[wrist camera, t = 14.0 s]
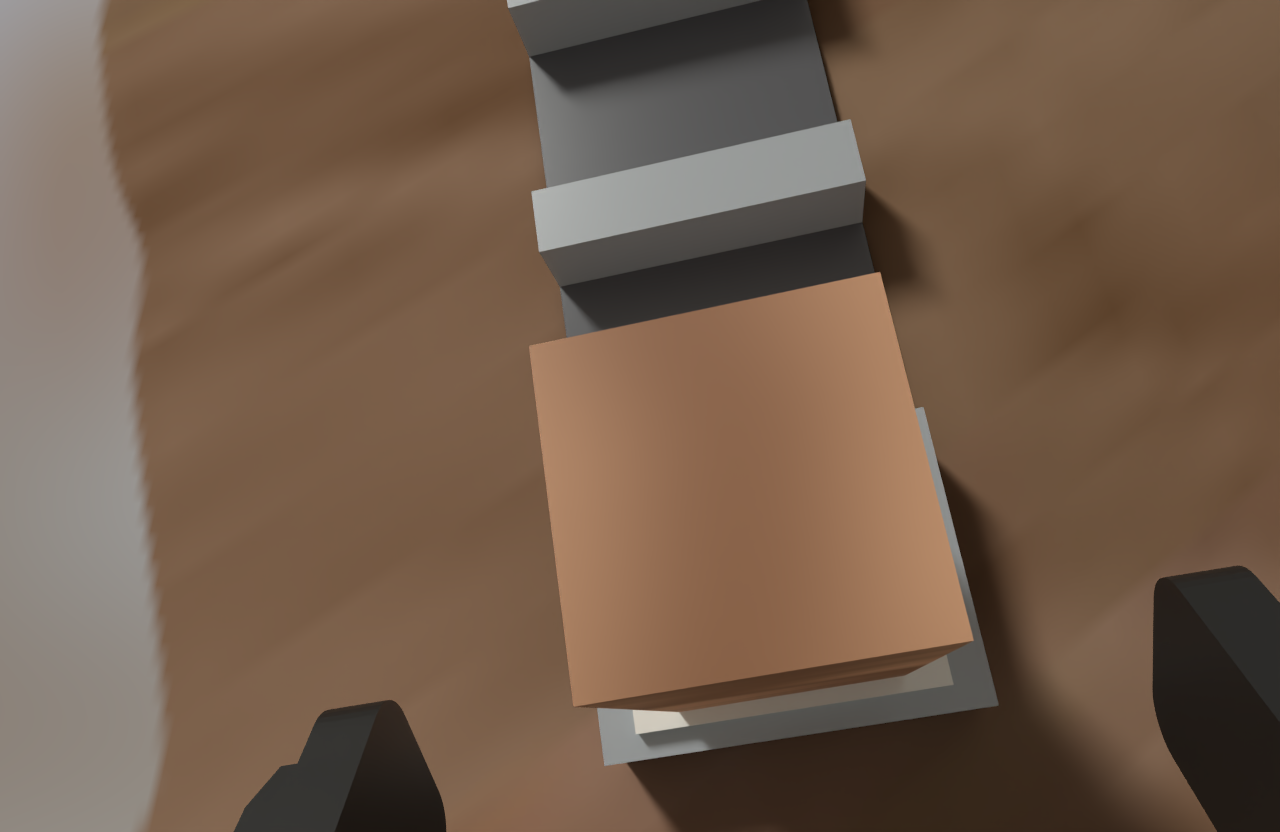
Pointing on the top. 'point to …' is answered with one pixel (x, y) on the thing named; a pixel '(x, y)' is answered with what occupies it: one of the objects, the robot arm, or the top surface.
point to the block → (743, 503)
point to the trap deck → (710, 252)
